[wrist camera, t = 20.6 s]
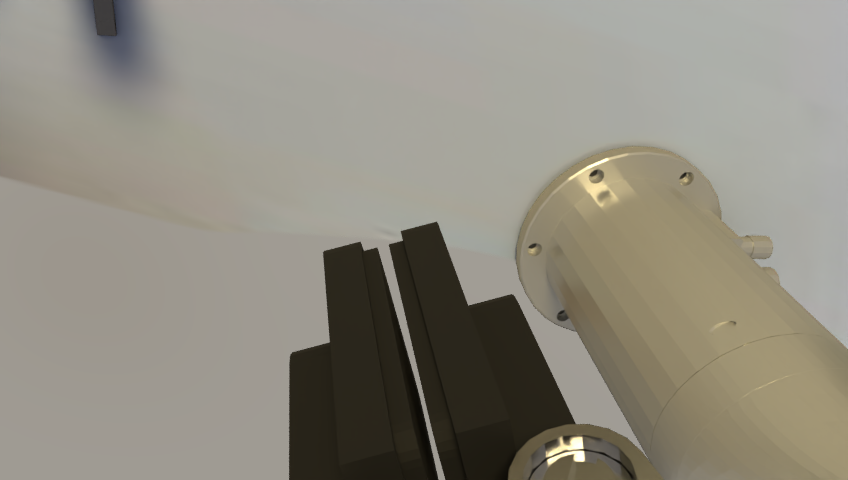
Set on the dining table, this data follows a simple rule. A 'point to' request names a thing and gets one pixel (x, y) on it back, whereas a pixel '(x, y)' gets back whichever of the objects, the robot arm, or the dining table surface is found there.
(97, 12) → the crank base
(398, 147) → the dining table surface
